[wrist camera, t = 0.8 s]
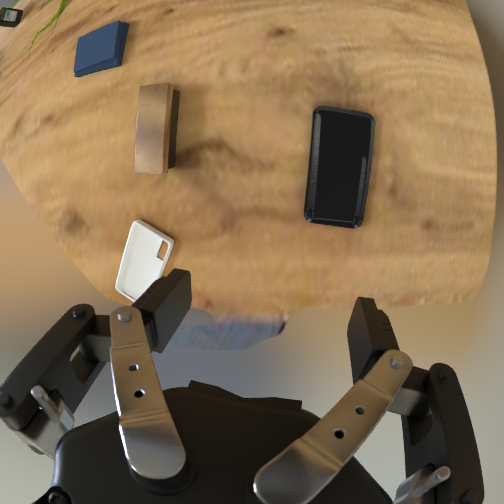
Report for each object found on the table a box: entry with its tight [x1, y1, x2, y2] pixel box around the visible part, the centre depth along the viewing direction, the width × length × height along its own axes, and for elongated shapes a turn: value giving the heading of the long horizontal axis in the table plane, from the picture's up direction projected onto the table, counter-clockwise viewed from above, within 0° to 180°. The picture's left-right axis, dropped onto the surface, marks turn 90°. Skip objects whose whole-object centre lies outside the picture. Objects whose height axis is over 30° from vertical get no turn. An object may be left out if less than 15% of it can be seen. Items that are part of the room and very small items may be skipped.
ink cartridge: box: [0, 7, 23, 27], centre depth 21 cm, size 5×2×8 cm, turn 178°
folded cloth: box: [74, 21, 129, 77], centre depth 29 cm, size 8×10×2 cm
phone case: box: [115, 219, 174, 302], centre depth 43 cm, size 7×1×15 cm
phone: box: [304, 106, 375, 228], centre depth 31 cm, size 8×1×15 cm
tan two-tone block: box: [135, 83, 180, 174], centre depth 32 cm, size 12×4×4 cm, turn 175°
